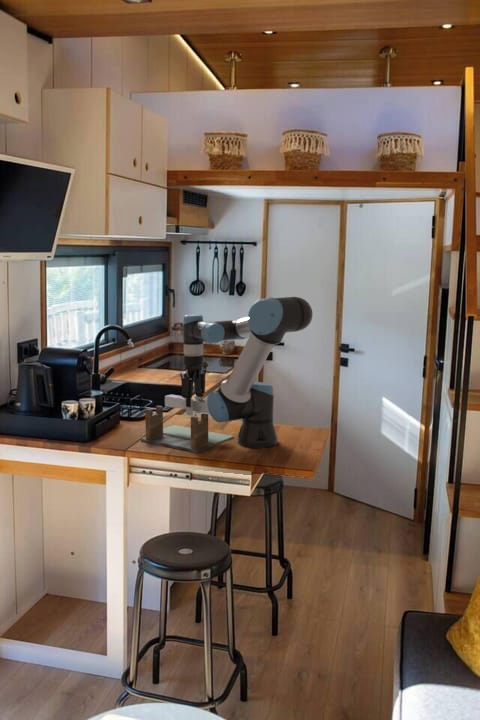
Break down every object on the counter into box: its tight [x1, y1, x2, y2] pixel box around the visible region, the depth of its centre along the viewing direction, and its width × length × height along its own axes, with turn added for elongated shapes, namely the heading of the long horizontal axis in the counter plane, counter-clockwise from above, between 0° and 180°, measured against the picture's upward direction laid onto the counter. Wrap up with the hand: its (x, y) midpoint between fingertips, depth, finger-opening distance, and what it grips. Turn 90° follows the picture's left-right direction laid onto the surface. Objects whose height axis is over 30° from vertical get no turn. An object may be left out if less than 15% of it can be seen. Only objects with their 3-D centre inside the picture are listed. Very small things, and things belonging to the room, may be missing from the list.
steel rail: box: [164, 394, 210, 415], centre depth 270 cm, size 26×4×4 cm, turn 55°
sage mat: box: [163, 424, 235, 445], centre depth 272 cm, size 30×12×1 cm, turn 55°
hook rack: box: [140, 405, 215, 454], centre depth 258 cm, size 28×9×12 cm, turn 55°
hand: (193, 413), depth 271 cm, fingers closed on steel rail, 4 cm apart
